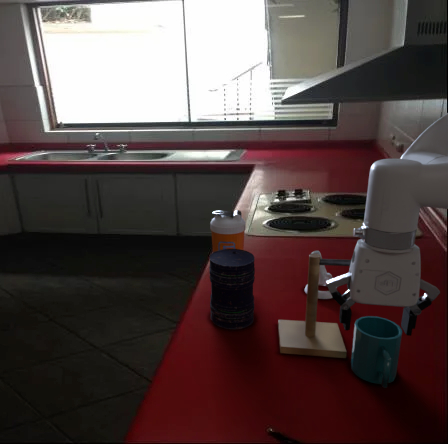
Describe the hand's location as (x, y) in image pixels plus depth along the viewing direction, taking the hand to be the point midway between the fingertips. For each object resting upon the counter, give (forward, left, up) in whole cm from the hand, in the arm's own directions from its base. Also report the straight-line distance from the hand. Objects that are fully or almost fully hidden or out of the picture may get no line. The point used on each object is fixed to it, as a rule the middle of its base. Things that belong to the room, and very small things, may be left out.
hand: (375, 328), depth 73 cm
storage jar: (+26, -15, -9) cm, 31 cm away
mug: (0, +2, -9) cm, 9 cm away
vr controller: (+5, -30, -9) cm, 32 cm away
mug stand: (+6, -8, -9) cm, 13 cm away
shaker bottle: (+28, -32, -9) cm, 43 cm away
